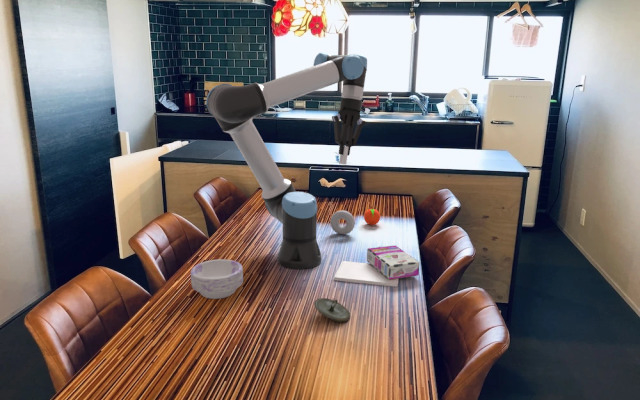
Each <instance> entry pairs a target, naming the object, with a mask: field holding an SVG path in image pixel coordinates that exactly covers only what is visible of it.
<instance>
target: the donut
mask: <svg viewBox="0 0 640 400" xmlns="http://www.w3.org/2000/svg"><path fill="white" fill-rule="evenodd" d="M341 219H342V220H344V221H345V222H346V224H345V225H341V224H340V223H339V221H340V220H341ZM329 222H330V223H329V224H330V227H331V228H332V230H333V232H335V233H337V234H339V235H348V234H351V232H352V231H353V230H354V228H355V225H356V222H355V218H354V216H353V214H352V213H350V211H347V210H338V211H335V212H334V213H333V214H332V215H331V217H330V221H329Z"/></svg>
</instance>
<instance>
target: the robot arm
mask: <svg viewBox="0 0 640 400" xmlns="http://www.w3.org/2000/svg"><path fill="white" fill-rule="evenodd" d="M367 69H368V59H367V57H366V56H365V55H362V54H358V53H357V54H355V53H350V54H343V55H342V54H340V55H339V54H329V53H328V52H327V53H324V52H319V53H318V54H316V56H315V58H314V60H313V66H311V67H307V68H305V69H301V70H298V71H296V72H293V73H290V74H287V75H285V76H281V77H279V78H275V79H273V80H270V81H267V82H264V83H258V82H253V83H251V84H247V85H246V84H245V85H232V84H229V83H221V84H217V85H215V86H214V87H212V88H211V89H210V90H209V92H208V93H207V95H206V96H207V97H206V100H205V103H206V108H207V110H208V113H209V114H210V115H212V117H214V118H215V120H216V121H217V123H218V125H219V127H220V129H221V131H222V132H224V133H227V134H229V135H230V137H231V138H232V140H233V142H234V143H235V145H236V147H237V148H238V150H239V151H240V153H241V155H242V156H243V159H244V160H245V162H246V163H247V166H248V167H249V169H250V171H251V173H252V174H253V176H254V177H255V179H256V181H257V182H258V184H259V186H260V187H261V189H262V192H261V198H262V199H263V201H264V203H265V207H266V210H267V211H268V213H269V214H270V215H271V217H273V218H274V219H276V220H277V221H278V222H280V224H282V241H281V244H280V246H279V250H278V253H277V263H278V264H279V265H280V266H282V267H284V268H288V269H292V270H303V269H304V270H305V269H310V268H314V267H315V268H316V267H317V266H318V265H320V264H321V263H322V252H321V251H320V247H319V244H318V241H317V229H318V228H317V221H318V219H317V217H318V205H317V199H316V197H315V196H314V195H312V194H311V193H308V192H304V191H296V189H295V187H294V185H293V184H292V182H291V180H290V179H288V178H284V176H283V174H282V172H281V171H280V169H279V167H278V165H277V163H276V162H275V159H274V158H273V157H272V154H271V152H270V150H269V149H268V147H267V145H266V144H265V142H264V141H263V138H262V136H261V135H260V133H259V131H258V129H257V127H256V126H255V124H254V122H253V119H254V118H255V117H258V116H259V115H263V114H265V113H268V110H269V109H270V108H273V107H275V106H277V105H281V104H284V103H286V102H289V101H292V100H294V99H297V98H300V97H303V96H304V95H307V94H311V93H313V92H315V91H318V90H322V89H324V88H327V87H329V86H332V85H335V84H338V83H341V82H343V84H342V90H341V91H342V92H341V97H342V98H341V100H340V105H339V111H338V113H337V114H336V115H332V116H331V119H332V122H333V130H334V131H333V132H334V141H335V142H334V143H335V144H338V146H339V148H338V155H339V163H338V164H339V165H347V161H348V156H350V153H351V148H353V146H356V145H357V143H358V140H359V137H360V135H361V131H362V129H363V127H364V126H365V125H366V121H365V120H363V119H362V118H361V109H362V104H363V101H362V100H363V97H364V90H365V89H364V88H365V83H366V74H367V71H368V70H367ZM340 121H341V122H340ZM340 123H341V124H340Z"/></svg>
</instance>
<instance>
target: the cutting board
mask: <svg viewBox="0 0 640 400" xmlns="http://www.w3.org/2000/svg"><path fill="white" fill-rule="evenodd" d="M333 278H334V279H333V280H334V281H340V282H349V283H356V284H357V283H359V284H367V285H374V286H375V285H377V286H384V287H385V286H386V287H394V286H395V288H397V287H398V285H399V280H400V278H396V279H390V280H389V279H388V278H386V277H385V276H384V275H383V274H382V273H380V272H379V271H378V270H377V269H376V268H375V267H373V266H372V265H371V264H370V263H369V262H367V263H366V262H357V261H349V260H348V261H345V260H342V261H341V263H340V265H339V267H338V268H337V271H336V273H335V275H334V277H333Z"/></svg>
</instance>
